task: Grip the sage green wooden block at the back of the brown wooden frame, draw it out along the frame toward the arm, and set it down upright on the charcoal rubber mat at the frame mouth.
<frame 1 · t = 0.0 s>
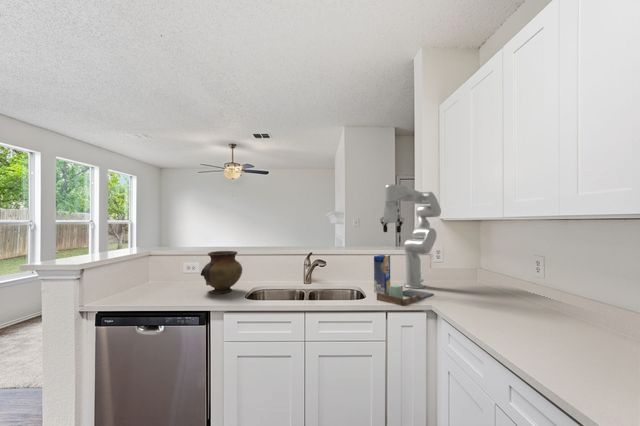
hand: (391, 232, 188), 37 cm above the worktop, tool pointing down, fingers open, 9 cm apart
mat: (415, 294, 181), on the worktop
block: (395, 300, 167), resting in brown wooden frame
pot: (221, 292, 189), on the worktop
brown wooden frame: (398, 299, 169), on the worktop
beverage box: (382, 291, 190), on the worktop
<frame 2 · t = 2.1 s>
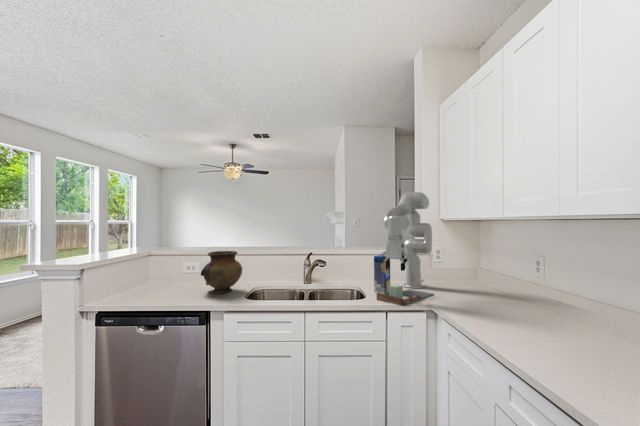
hand: (395, 269, 167), 17 cm above the worktop, tool pointing down, fingers open, 9 cm apart
nothing on the worktop moved.
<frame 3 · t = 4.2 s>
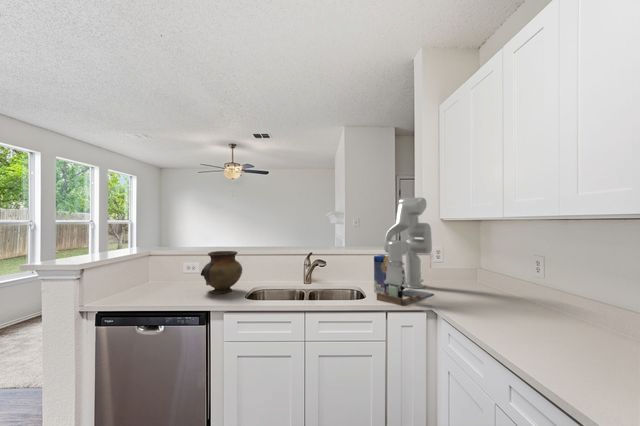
hand: (395, 296, 167), 2 cm above the worktop, tool pointing down, fingers closed on block, 5 cm apart
block: (395, 300, 167), resting in brown wooden frame, touching gripper
everything else where it was.
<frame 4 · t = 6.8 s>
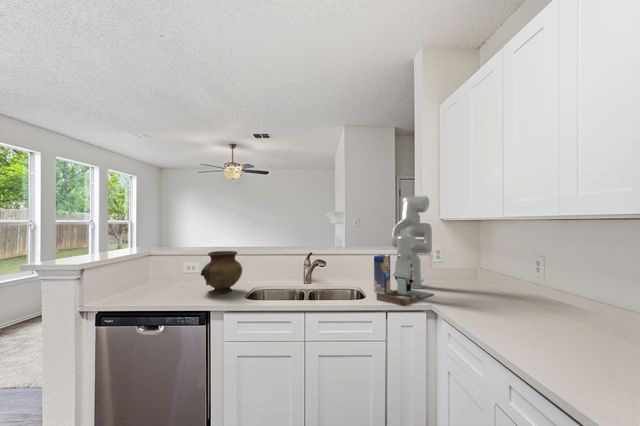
hand: (404, 289, 173), 5 cm above the worktop, tool pointing down, fingers closed on block, 5 cm apart
block: (404, 292, 173), point 3 cm above the worktop, touching gripper
everything else where it was.
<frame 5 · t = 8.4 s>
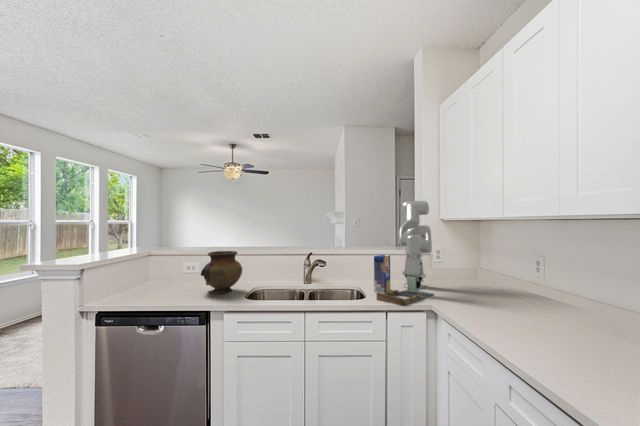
hand: (413, 286, 180), 5 cm above the worktop, tool pointing down, fingers closed on block, 5 cm apart
block: (414, 290, 180), point 3 cm above the worktop, touching gripper
everything else where it was.
when the fingers open (4 cm above the worktop, at t = 9.7 s): block drops 1 cm, resting on mat.
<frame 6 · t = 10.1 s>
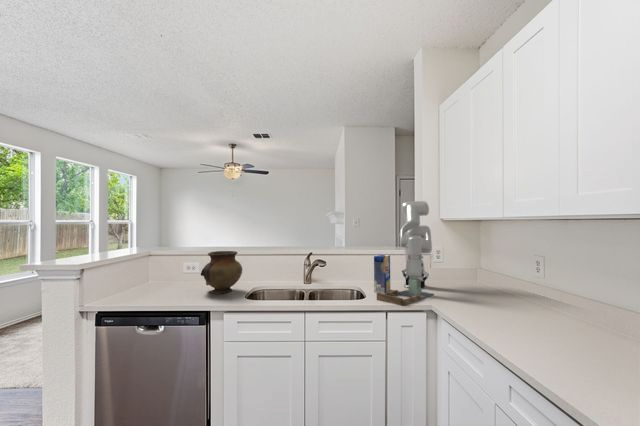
hand: (415, 286, 181), 5 cm above the worktop, tool pointing down, fingers open, 9 cm apart
block: (415, 293, 181), point 1 cm above the worktop, touching mat
everything else where it was.
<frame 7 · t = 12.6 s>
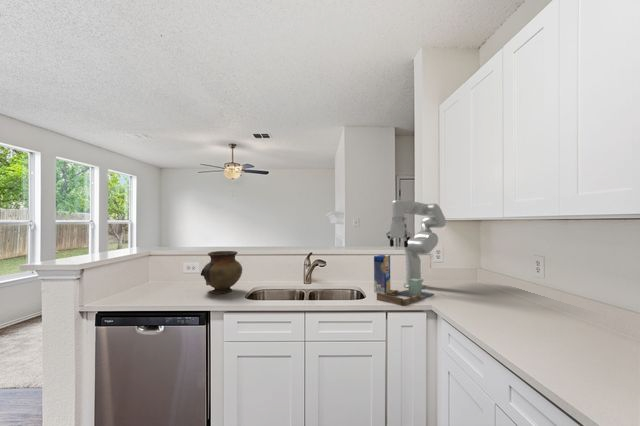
hand: (398, 246, 192), 27 cm above the worktop, tool pointing down, fingers open, 9 cm apart
nothing on the worktop moved.
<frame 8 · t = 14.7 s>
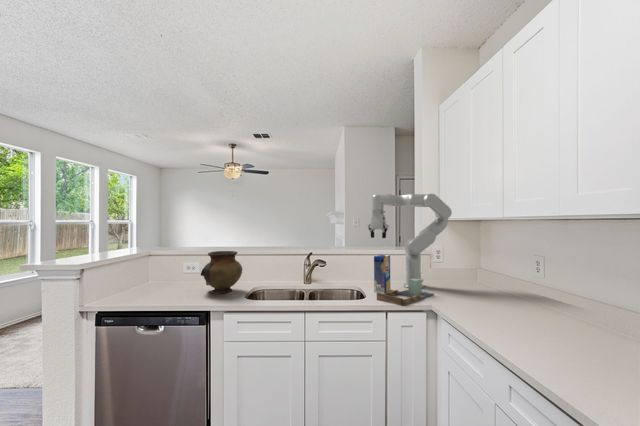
hand: (378, 237, 207), 32 cm above the worktop, tool pointing down, fingers open, 9 cm apart
nothing on the worktop moved.
at the end: block inside the target area on the mat (0.1 cm from its centre), point 0.8 cm above the mat's base; block tilted 0°; the gripper is holding nothing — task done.
